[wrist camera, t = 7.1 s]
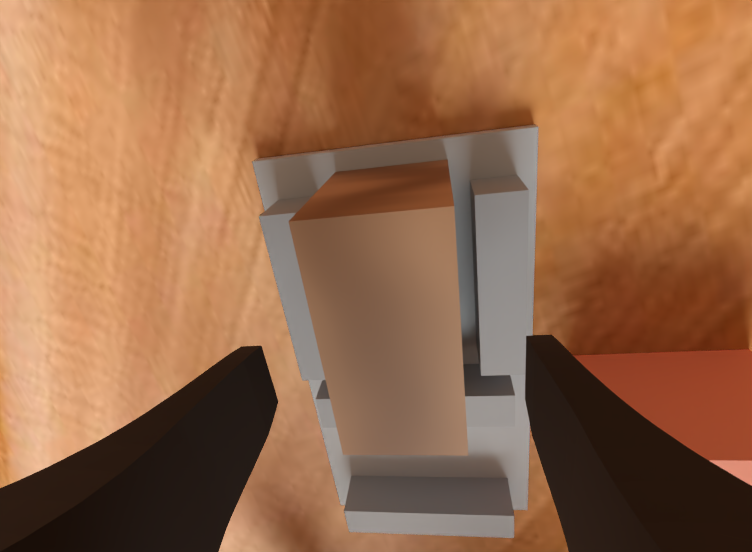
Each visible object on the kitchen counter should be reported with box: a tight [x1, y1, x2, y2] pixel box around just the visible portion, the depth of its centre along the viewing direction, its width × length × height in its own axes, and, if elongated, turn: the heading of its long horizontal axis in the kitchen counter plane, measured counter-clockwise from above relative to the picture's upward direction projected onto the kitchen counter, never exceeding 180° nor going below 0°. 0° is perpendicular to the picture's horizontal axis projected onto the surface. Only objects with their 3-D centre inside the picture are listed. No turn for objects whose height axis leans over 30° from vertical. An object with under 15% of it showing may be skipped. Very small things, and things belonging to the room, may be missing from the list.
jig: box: [252, 125, 538, 538], centre depth 18 cm, size 10×19×3 cm, turn 8°
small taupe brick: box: [288, 159, 468, 456], centre depth 14 cm, size 4×8×6 cm, turn 8°
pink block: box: [573, 349, 752, 486], centre depth 16 cm, size 7×4×6 cm, turn 98°
